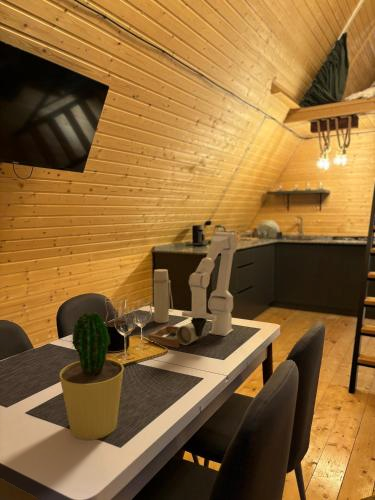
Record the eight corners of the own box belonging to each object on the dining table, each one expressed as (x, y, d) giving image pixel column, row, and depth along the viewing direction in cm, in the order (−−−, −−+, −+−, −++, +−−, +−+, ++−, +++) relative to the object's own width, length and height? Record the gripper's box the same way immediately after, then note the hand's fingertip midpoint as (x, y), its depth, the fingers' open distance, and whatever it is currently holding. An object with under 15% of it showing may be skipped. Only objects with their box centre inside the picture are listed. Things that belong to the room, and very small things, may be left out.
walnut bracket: (167, 331, 171) (167, 325, 170) (195, 336, 164) (195, 329, 164) (148, 342, 158) (148, 334, 157) (177, 347, 151) (177, 340, 150)
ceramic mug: (201, 340, 159) (201, 322, 158) (191, 346, 152) (191, 327, 151) (180, 336, 164) (179, 319, 163) (169, 342, 157) (169, 324, 156)
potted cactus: (132, 412, 103) (130, 303, 100) (112, 448, 88) (109, 320, 85) (78, 408, 106) (74, 301, 102) (50, 441, 91) (44, 317, 87)
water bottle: (152, 323, 183) (151, 271, 180) (156, 318, 190) (155, 268, 188) (171, 324, 181) (170, 271, 178) (174, 319, 189) (173, 269, 186)
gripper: (178, 302, 153) (178, 336, 154) (211, 307, 146) (211, 342, 147) (186, 299, 159) (186, 331, 160) (218, 303, 152) (218, 336, 153)
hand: (199, 336), depth 154 cm, fingers closed
